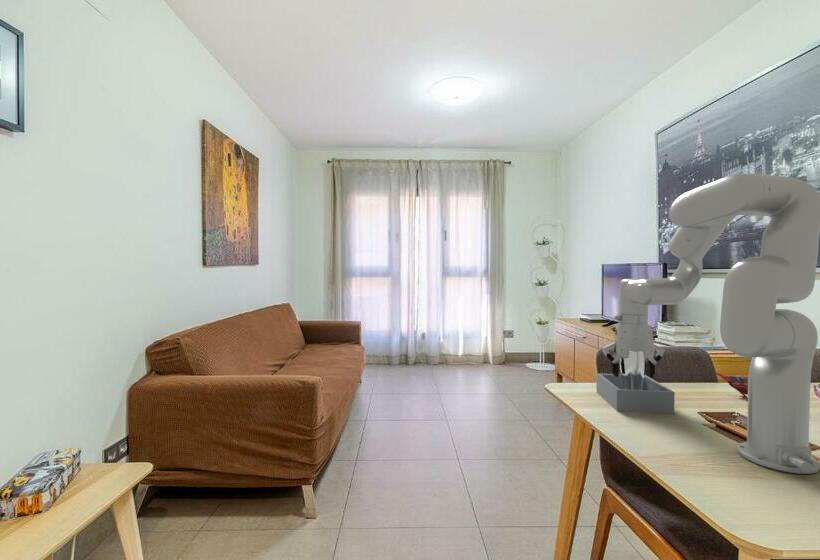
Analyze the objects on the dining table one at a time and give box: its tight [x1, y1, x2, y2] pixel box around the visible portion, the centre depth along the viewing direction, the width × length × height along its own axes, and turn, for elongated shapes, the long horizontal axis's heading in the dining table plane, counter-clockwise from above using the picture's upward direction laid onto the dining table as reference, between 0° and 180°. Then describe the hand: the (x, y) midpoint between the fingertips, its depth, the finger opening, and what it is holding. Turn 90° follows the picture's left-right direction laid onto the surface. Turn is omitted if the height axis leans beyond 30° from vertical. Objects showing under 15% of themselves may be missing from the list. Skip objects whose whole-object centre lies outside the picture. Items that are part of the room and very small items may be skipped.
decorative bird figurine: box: [713, 370, 749, 401], centre depth 124 cm, size 3×18×10 cm, turn 14°
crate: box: [596, 373, 676, 414], centre depth 120 cm, size 18×15×6 cm
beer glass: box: [619, 351, 647, 390], centre depth 120 cm, size 7×7×15 cm
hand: (632, 376), depth 120 cm, fingers open, 9 cm apart
